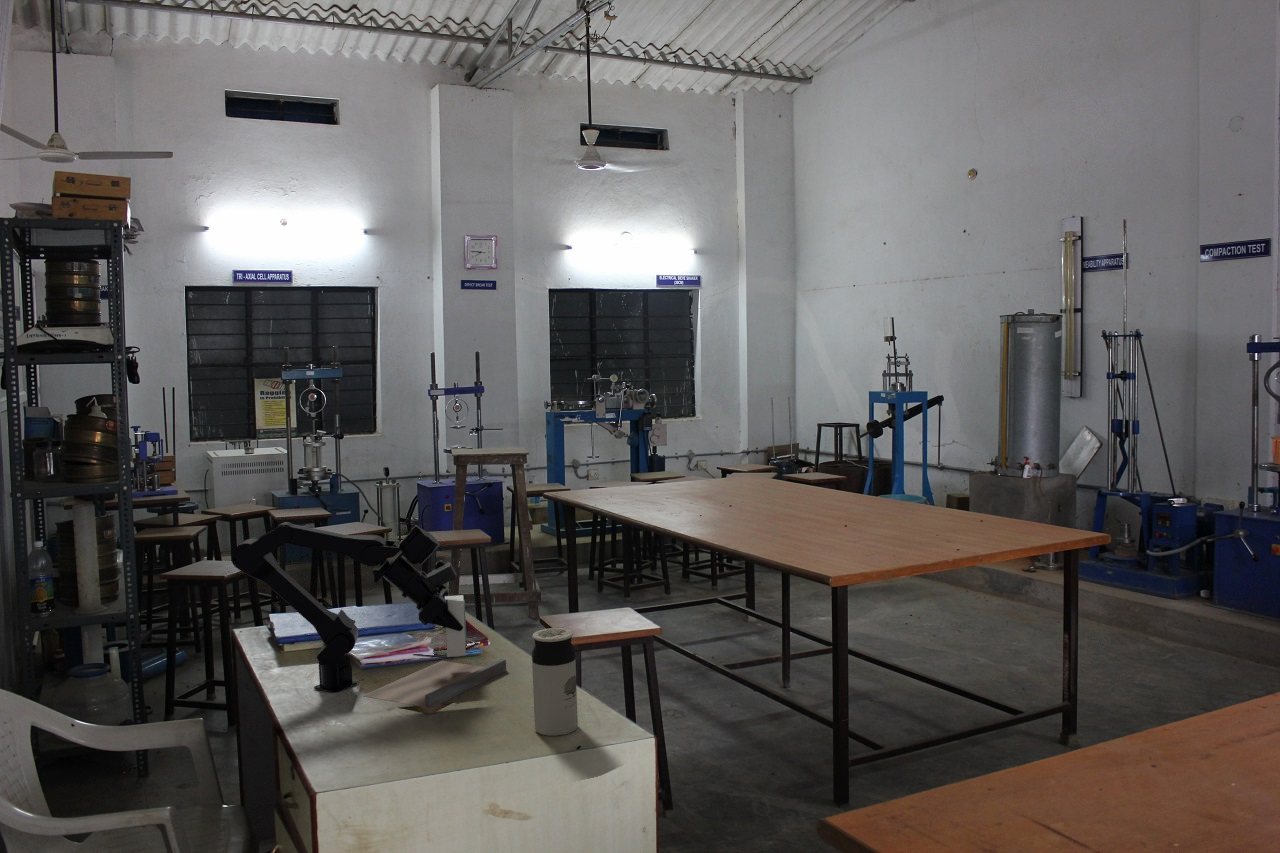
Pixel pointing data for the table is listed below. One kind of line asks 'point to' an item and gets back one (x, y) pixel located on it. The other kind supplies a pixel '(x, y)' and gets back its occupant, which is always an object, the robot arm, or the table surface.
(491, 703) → the table surface
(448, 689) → the shelf board
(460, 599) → the product box
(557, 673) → the travel mug
